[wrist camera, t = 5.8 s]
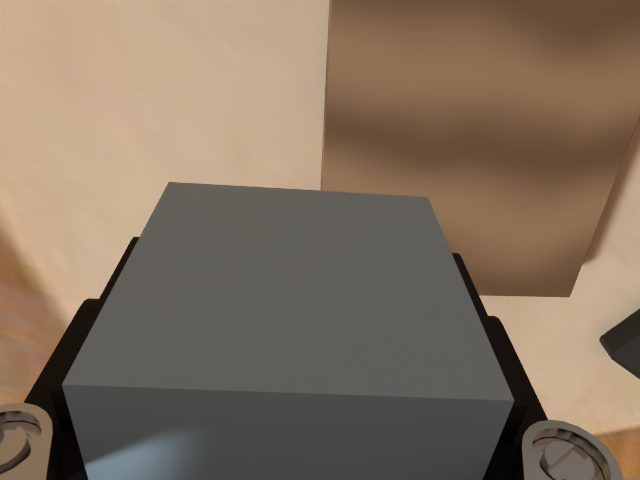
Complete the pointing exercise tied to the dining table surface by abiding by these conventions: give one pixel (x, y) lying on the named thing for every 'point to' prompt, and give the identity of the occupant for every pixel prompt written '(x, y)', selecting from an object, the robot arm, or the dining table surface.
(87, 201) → the dining table surface
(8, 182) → the dining table surface
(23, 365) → the dining table surface
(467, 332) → the cube
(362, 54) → the board
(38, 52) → the dining table surface
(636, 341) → the vhs tape
